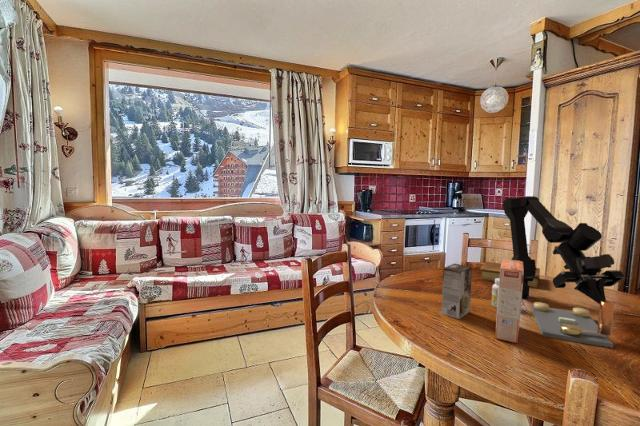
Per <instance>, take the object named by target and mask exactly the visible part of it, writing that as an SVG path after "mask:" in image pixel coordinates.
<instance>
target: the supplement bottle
mask: <svg viewBox="0 0 640 426" xmlns="http://www.w3.org/2000/svg"><path fill="white" fill-rule="evenodd" d="M498 291H499V278H496V279H495V282H494V284H492V289H491V305H492V306H493V307H495V308H497V305H498Z"/></svg>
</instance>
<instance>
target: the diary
mask: <svg viewBox="0 0 640 426" xmlns="http://www.w3.org/2000/svg"><path fill="white" fill-rule="evenodd" d="M501 264H502V262H501V263H499V262H491V261H485V262H484V263H483V264H482V265H481V267H480V269H479V272H481V276H480V278H479V280H480V279H482V280H481V281H485V280H487V281H486V282H491V281H493V283H495V279H496V278H500V268H501ZM536 269H537V270H536V274H535V276H534V279H533V282H531V281H528V284H529V286H530V288H531V289H537V290H538V289H539V288H540V286H539V285H540V273H541V272H540V271H541V269H540V268H539V267H536ZM530 288H529V289H530Z"/></svg>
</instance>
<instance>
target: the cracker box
mask: <svg viewBox="0 0 640 426" xmlns="http://www.w3.org/2000/svg"><path fill="white" fill-rule="evenodd" d="M523 275H524V270H523V262H522V261H516V260H511V259H508V258H507V259H502V261H501V268H500V278H499V291H498V305H497V307H496V321H495V338H494V339H496V340H501V341H505V342H509V343H513V344H518V343H519V342H518V340H519V333H520V332H519V331H520V323H521V310H522V301H523V300H522V299H523V298H522V289H523Z"/></svg>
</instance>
